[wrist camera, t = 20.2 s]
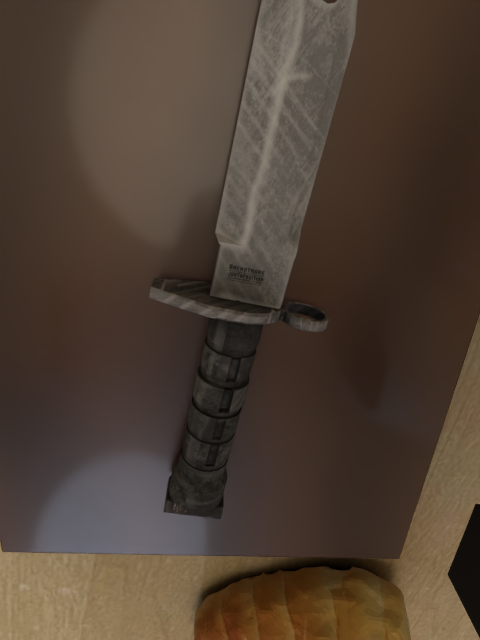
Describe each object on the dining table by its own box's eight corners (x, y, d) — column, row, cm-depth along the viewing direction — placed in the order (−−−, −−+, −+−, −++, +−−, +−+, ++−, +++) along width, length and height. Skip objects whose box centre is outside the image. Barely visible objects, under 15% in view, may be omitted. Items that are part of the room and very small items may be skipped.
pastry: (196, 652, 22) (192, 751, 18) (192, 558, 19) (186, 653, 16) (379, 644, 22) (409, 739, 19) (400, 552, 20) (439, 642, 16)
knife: (241, -359, 7) (536, -244, 7) (236, -254, 8) (472, -169, 9) (114, 520, 14) (265, 538, 14) (126, 474, 16) (260, 492, 16)
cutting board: (626, -239, 10) (679, -288, 9) (389, 535, 19) (399, 559, 18) (-137, -366, 8) (-191, -442, 7) (15, 526, 18) (1, 552, 17)
